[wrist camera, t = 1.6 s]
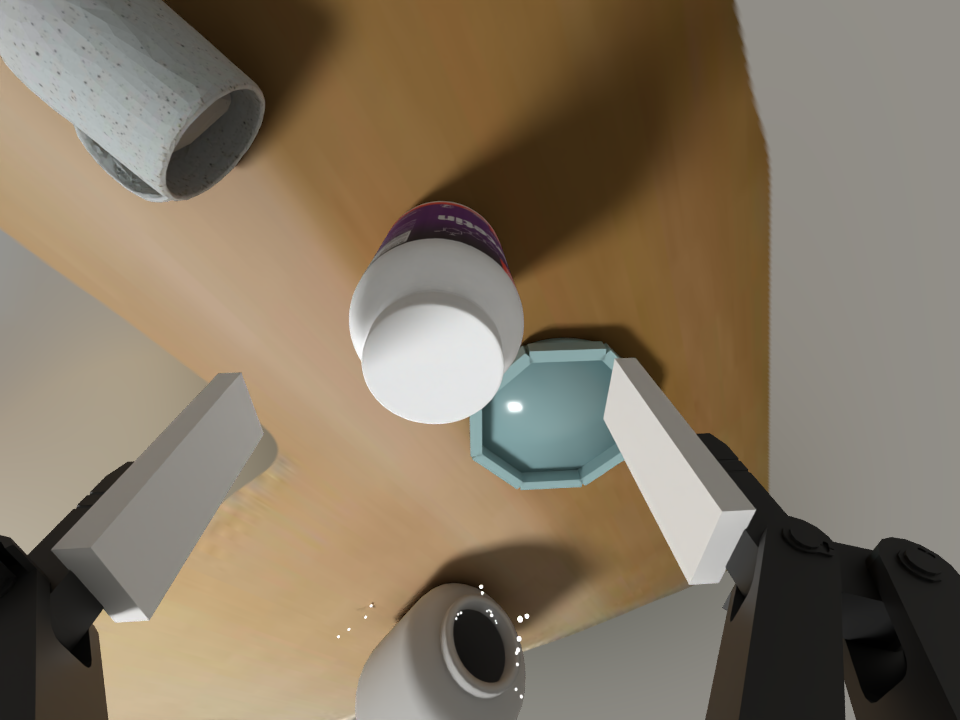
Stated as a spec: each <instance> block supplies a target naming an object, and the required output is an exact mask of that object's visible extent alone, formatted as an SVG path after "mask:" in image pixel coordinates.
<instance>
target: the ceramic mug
mask: <svg viewBox="0 0 960 720" xmlns="http://www.w3.org/2000/svg"><path fill="white" fill-rule="evenodd" d="M0 57H1V58H2V60H3V61H4V62H5V64H6V65H7V66H8V67H9V68H10V70H11V71H12V72H13V73H14V74H15V75H16V76H17V77H18V78H19V79H20V80H21V81H22V82H23V83H24V84H25V85H26V86H27V87H28V88H29V89H30V90H31V91H32V92H33V93H35V94H36V95H37V96H38V97H39V98H41V99H42V100H43V101H44V102H45V103H47V104H48V105H49V106H50V107H51V108H53V109H54V110H55V111H56V112H58V113H59V114H60V115H62V116H63V117H64V118H66V119H67V120H68V121H70V122H71V123H72V124H73V125H74V127H75V130H76V133H77V136H78V137H79V139H80V140H81V142H82V143H83V145H84V146H85V148H86V149H87V151H88V152H89V153H90V155H91V156H92V157H93V158H94V160H95V161H96V162H97V163H98V164H99V165H100V166H101V167H102V168H103V169H104V170H105V171H106V172H107V173H108V174H109V175H110V176H111V177H112V178H114V179H115V180H116V181H117V182H118V183H120V184H121V185H122V186H123V187H125V188H126V189H127V190H129V191H130V192H132V193H134V194H135V195H137V196H139V197H141V198H143V199H145V200H148V201H152V202H168V201H171V200H174V201H181V200H188V199H190V198H192V197H195V196H197V195H200V194H201V193H203V192H205V191H207V190H208V189H210V188H211V187H212V186H214V185H215V184H216V183H218V182H219V181H220V180H222V178H223V177H224V176H226V175H227V174H228V173H229V172H230V171H231V170H232V169H233V168H234V167H235V166H236V165H237V163H238V162H239V160H240V159H241V158H242V156H243V155H244V154H245V153H246V152H247V150H248V149H249V147H250V146H251V144H252V142H253V140H254V139H255V137H256V135H257V134H258V130H259V128H260V127H261V124H262V121H263V116H264V111H265V99H264V96H263V93H262V91H261V90H260V88H259V87H258V85H257V84H256V83H255V82H254V81H253V80H251V79H250V78H249V77H248V76H247V75H246V74H245V73H244V72H242V71H241V70H240V69H239V68H238V67H237V66H235V65H234V64H233V63H232V62H231V61H230V60H229V59H228V58H226V57H225V56H224V55H223V54H222V53H221V52H220V51H219V50H218V49H216V48H215V47H214V46H213V45H212V44H211V43H210V42H209V41H208V40H206V39H205V38H204V37H203V36H202V35H201V34H200V33H199V32H197V31H196V30H195V29H194V28H193V27H192V26H190V25H189V24H188V23H187V22H186V21H185V20H183V19H182V18H181V17H180V16H179V15H178V14H177V13H176V12H174V11H173V10H172V9H171V8H170V7H169V6H168V5H167V4H166V3H164V2H163V1H162V0H0Z"/></svg>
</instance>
